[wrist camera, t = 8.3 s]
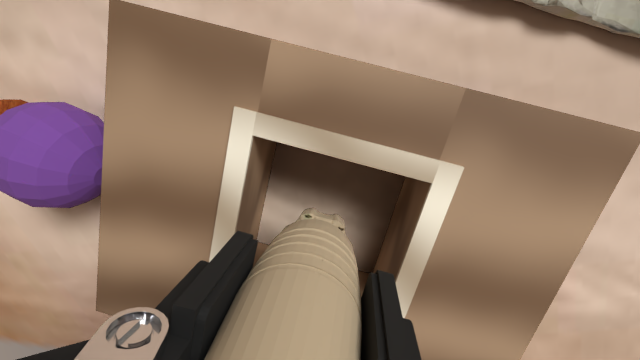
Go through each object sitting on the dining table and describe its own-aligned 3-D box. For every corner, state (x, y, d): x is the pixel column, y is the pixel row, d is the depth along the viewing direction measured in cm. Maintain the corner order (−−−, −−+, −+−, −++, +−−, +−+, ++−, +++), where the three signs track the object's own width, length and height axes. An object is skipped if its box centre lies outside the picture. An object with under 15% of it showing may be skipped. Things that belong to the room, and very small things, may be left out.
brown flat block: (176, 24, 18) (105, -4, 13) (561, 122, 17) (649, 134, 12) (152, 263, 22) (93, 313, 17) (454, 351, 21) (484, 430, 16)
